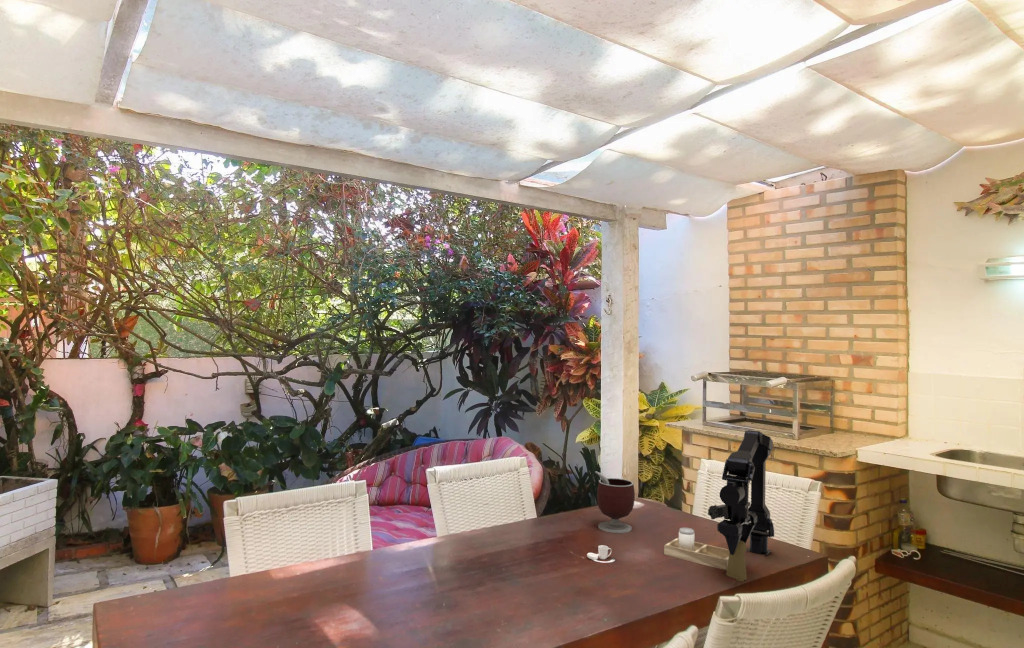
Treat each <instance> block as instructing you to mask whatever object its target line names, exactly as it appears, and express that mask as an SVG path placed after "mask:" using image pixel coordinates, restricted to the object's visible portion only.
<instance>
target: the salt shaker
mask: <svg viewBox="0 0 1024 648" xmlns="http://www.w3.org/2000/svg"><path fill="white" fill-rule="evenodd" d="M695 535H696V534H695V530H694V528H690V527H679V530H678V538H679V543H678V548H682V549H686V550H690V551H694V542H695Z"/></svg>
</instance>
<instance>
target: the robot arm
mask: <svg viewBox="0 0 1024 648" xmlns="http://www.w3.org/2000/svg"><path fill="white" fill-rule="evenodd" d="M773 446H774V441H773V439H772V437H770V436H768V435H766V434H763V432H761V431H759V430H752V429H751V430H750V429H749V430H748V429H747V430H745V431H744V434H743V439H742V441H741V443H740V445H739V448H738V449H737V451H734V452H731V453H730V455H729V456H728V457H727V458H726V459H725V462H724V467H723V471H722V477H721V480H722V481H726V485H724V486H723V487H722V488H721V489H720V492H719V498H720V500H721V502H722V503H723V504H719V505H716V504H715V505H711V506H708V507H709V508H708V510H707V511H708V512H707V515H708V516H710V519H711V520H715V519H719V518H724V519H723V520H721V521H719V523H717V525H716V527H717V532H719V533H720V534H722V536H724V538H725V540H726V545H727V548H728V550H729V552H730V554H731V555H734V553H735V551H736V548H737V546H738V543H739V541H740V540H741V541H743V542H745V544H746V545H747V542H748V539H749V547H748V548H746V551H745V552H750V553H754V554H758V555H759V554H760V555H763V556H764V557H766V556H768V555H769V554H770V553H771V551H772V550H771V549H769V548H768V545H769V541H768V540H769V538H774V537H775V527H774V523H773V519H772V518H771V512H770V510H769V508H768V506H767V505H766V470H767V469H766V468H767V467H766V463H767V460H768V459H769V457H770V456H771V454H772V451H773V448H774V447H773ZM750 483H751V484H750ZM749 490H750V491H749ZM749 492H750V493H749ZM749 494H750V497H749ZM749 498H750V501H749Z"/></svg>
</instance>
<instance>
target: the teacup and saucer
mask: <svg viewBox="0 0 1024 648" xmlns="http://www.w3.org/2000/svg"><path fill="white" fill-rule="evenodd" d="M597 549H598V550H597V551H598V552H597V553H594V552H588V553H587V554H586V557H587V558H588V559H590V560H592V561H594V562H596V563H604V564H608V563H613V562H615V561H616V558H613V557H610V555H611V554H612V548H610V547H609V546H607V545H605V544H604V545H602V544H601V545H598V546H597ZM609 550H610V552H609ZM608 553H609V554H608ZM608 557H609V558H610V560H607V561H601V560H606V559H608ZM598 559H600V560H598Z"/></svg>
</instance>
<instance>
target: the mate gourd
mask: <svg viewBox="0 0 1024 648" xmlns="http://www.w3.org/2000/svg"><path fill="white" fill-rule="evenodd" d="M594 473H595V474H597V475H598V476H599V478H600V479H599V480H598V484H597V489H596V500H597V501H596V502H597V507H598V509H599V511H600V512H601V513H602V514H603V515H604V516H606V517H608V518H610V521H603V522H600V523H598V525H597V527H598V529H599V530H601V531H603V532H606V533H613V534H626V533H629V532H631V531H632V526H631V525H630V524H627V523H625V522H621V521H620V520H619V519H622V518H625V517H628V516H629V515H630V514H631V512H633V510H634V506H635V501H636V499H635V497H636V493H635V492H636V491H635V486H634V484H635V483H634V482H633V481H632V480H629V479H625V478H617V477H616V478H614V477H612V478H611V477H606V476H605V475H604V474H602V473H601V472H599V471H594Z"/></svg>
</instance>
